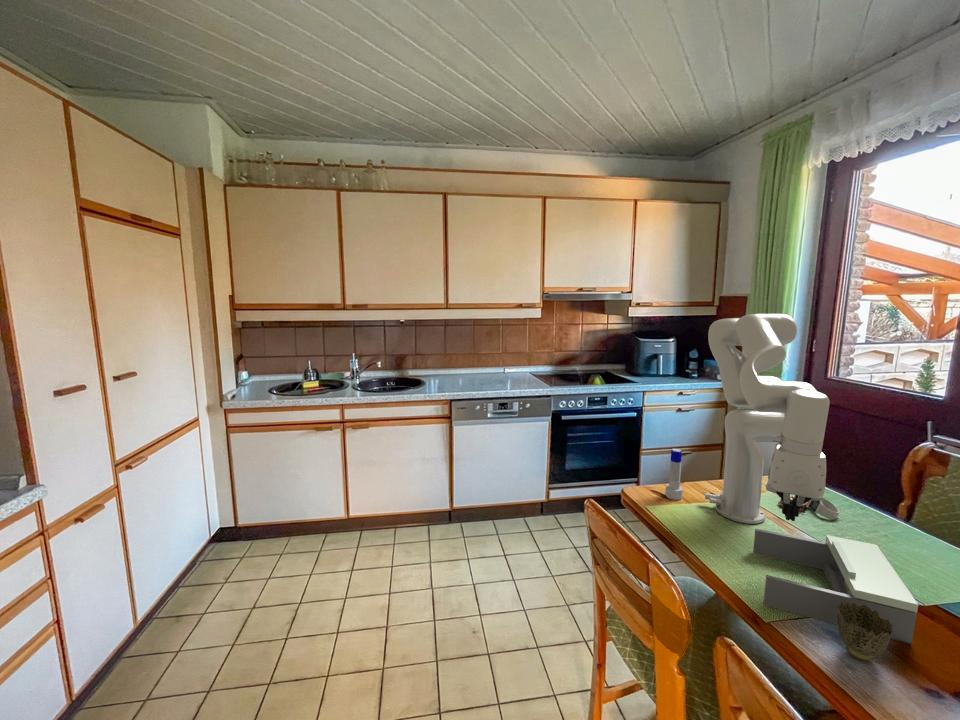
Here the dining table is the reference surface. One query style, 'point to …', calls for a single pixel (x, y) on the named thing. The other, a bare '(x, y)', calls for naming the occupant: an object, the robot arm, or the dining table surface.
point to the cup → (863, 631)
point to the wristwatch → (824, 508)
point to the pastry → (800, 506)
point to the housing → (815, 598)
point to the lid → (870, 573)
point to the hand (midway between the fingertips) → (789, 517)
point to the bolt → (674, 476)
